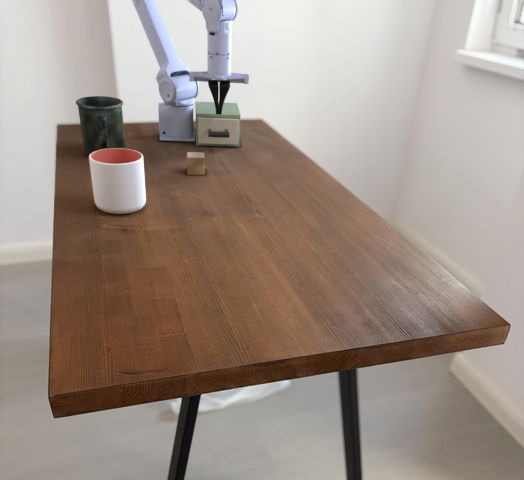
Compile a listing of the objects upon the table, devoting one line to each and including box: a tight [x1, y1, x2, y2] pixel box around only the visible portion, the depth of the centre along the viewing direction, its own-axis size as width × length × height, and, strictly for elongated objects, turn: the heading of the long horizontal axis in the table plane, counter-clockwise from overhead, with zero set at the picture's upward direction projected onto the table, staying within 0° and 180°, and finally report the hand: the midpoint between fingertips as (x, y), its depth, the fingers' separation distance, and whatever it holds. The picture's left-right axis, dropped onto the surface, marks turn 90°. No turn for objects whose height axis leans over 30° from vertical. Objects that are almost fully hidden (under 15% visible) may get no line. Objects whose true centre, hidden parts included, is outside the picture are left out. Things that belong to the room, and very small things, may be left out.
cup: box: [88, 148, 147, 215], centre depth 107 cm, size 10×10×10 cm
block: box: [186, 151, 205, 176], centre depth 128 cm, size 4×4×4 cm
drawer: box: [198, 117, 238, 145], centre depth 146 cm, size 17×10×6 cm, turn 6°
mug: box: [75, 95, 126, 157], centre depth 131 cm, size 11×15×12 cm
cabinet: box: [194, 100, 241, 148], centre depth 150 cm, size 14×12×8 cm
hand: (218, 113), depth 139 cm, fingers closed
